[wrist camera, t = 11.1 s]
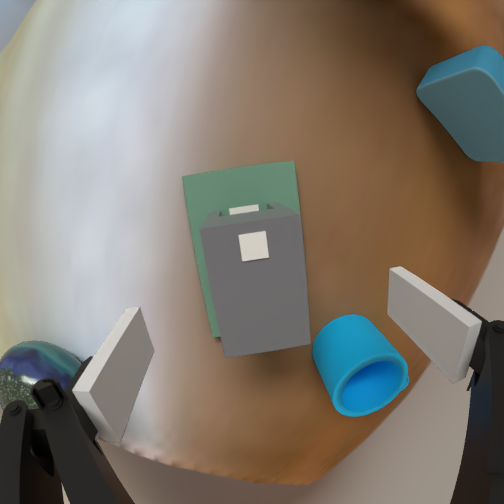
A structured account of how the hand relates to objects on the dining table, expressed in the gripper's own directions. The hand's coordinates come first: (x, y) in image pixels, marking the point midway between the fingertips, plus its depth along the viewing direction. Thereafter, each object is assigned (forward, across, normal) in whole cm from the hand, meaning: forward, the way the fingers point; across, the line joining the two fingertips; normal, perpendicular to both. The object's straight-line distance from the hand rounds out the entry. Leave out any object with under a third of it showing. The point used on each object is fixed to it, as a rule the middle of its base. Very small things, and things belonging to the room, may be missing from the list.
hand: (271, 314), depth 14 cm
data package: (+15, +26, +12) cm, 32 cm away
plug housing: (+13, 0, -1) cm, 13 cm away
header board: (+14, 0, -1) cm, 14 cm away
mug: (+14, +11, -15) cm, 23 cm away
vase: (+14, -27, -14) cm, 34 cm away
